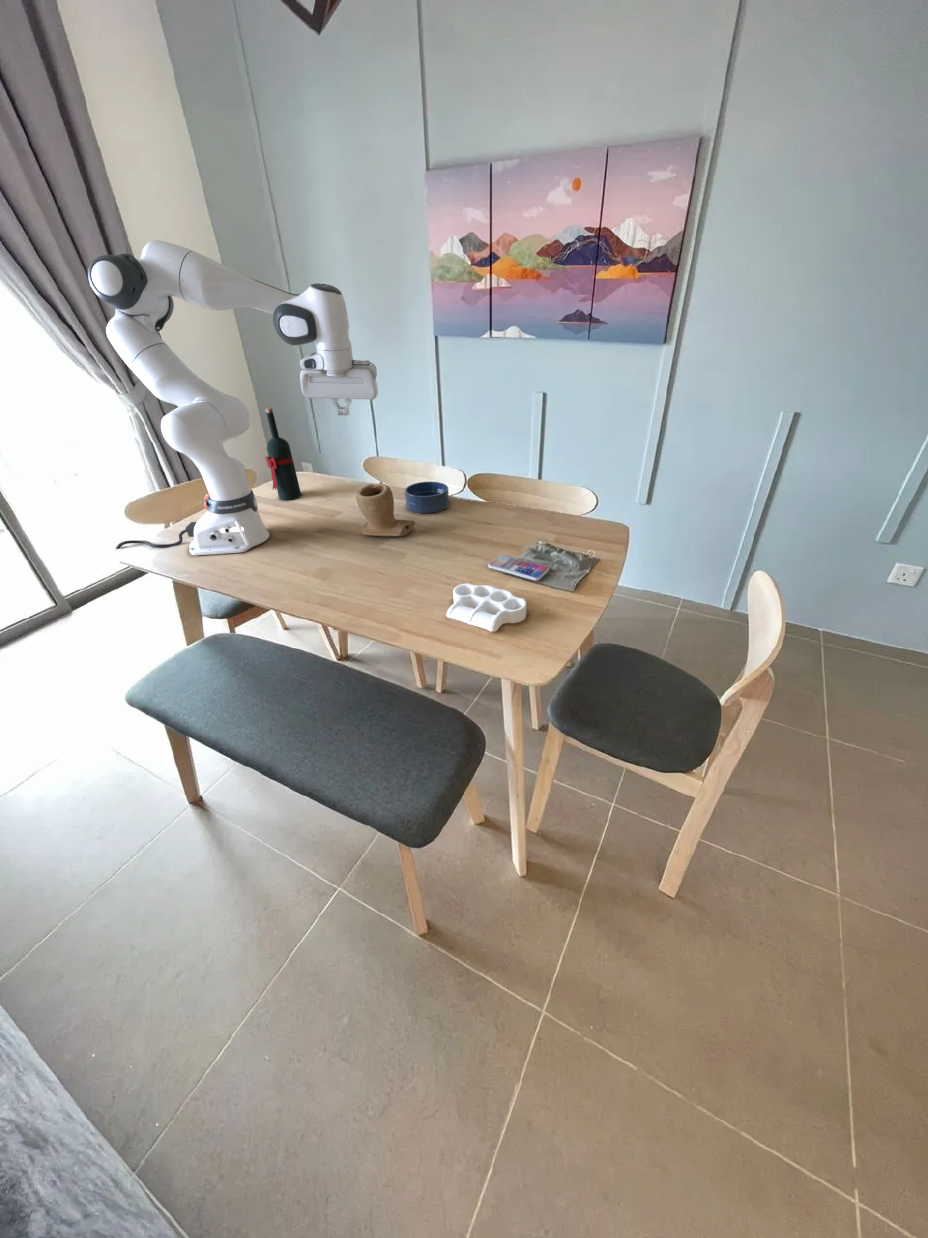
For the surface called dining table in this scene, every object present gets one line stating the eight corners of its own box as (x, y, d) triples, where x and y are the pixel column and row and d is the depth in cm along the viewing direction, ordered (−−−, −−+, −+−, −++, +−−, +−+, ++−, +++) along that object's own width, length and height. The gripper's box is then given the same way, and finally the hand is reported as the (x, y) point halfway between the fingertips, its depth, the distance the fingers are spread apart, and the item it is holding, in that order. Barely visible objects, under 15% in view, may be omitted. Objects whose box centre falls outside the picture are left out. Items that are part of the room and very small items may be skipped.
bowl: (411, 517, 158) (409, 499, 155) (403, 501, 170) (401, 484, 166) (453, 510, 161) (452, 493, 158) (443, 496, 173) (442, 479, 169)
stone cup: (355, 540, 145) (346, 491, 137) (371, 524, 155) (363, 477, 146) (403, 544, 142) (397, 494, 133) (416, 527, 151) (412, 479, 143)
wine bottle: (269, 500, 175) (244, 411, 158) (290, 491, 182) (269, 404, 165) (285, 504, 172) (261, 413, 155) (306, 494, 179) (286, 406, 162)
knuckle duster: (435, 617, 111) (468, 587, 121) (506, 640, 103) (535, 606, 113) (434, 604, 109) (468, 575, 119) (506, 627, 101) (536, 594, 111)
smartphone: (500, 553, 133) (551, 567, 126) (500, 557, 133) (550, 570, 126) (486, 564, 128) (538, 579, 121) (486, 568, 128) (538, 582, 121)
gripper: (377, 357, 129) (382, 412, 138) (301, 355, 130) (311, 410, 139) (373, 363, 125) (378, 419, 133) (293, 361, 125) (304, 417, 134)
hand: (343, 414), depth 136 cm, fingers closed
